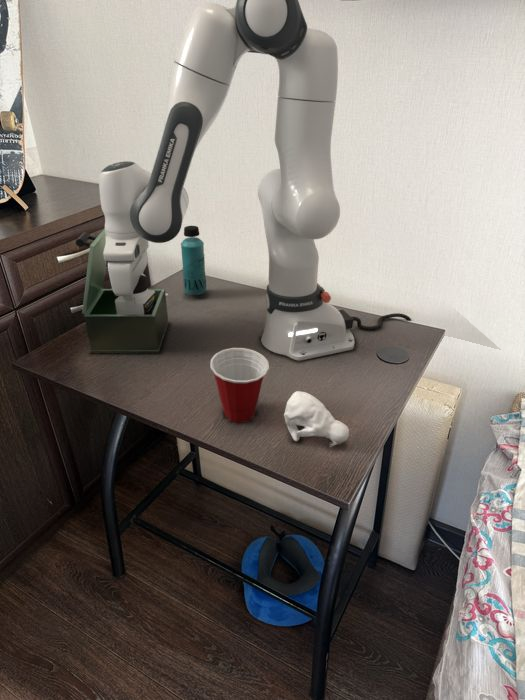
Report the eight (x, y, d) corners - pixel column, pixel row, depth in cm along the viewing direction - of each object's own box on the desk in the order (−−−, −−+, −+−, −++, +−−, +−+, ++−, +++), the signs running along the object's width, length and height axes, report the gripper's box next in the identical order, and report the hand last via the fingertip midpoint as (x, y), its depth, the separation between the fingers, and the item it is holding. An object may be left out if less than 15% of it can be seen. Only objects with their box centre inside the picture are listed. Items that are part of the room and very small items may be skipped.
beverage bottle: (181, 299, 141) (175, 230, 131) (188, 289, 147) (182, 222, 137) (203, 301, 140) (199, 231, 130) (209, 291, 146) (206, 224, 136)
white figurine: (296, 381, 92) (359, 403, 88) (290, 416, 96) (350, 438, 93) (282, 399, 87) (348, 424, 83) (277, 435, 91) (339, 460, 88)
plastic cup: (250, 439, 91) (250, 385, 85) (201, 420, 96) (198, 368, 89) (278, 407, 99) (279, 356, 93) (232, 391, 104) (230, 341, 97)
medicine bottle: (147, 330, 117) (140, 283, 110) (118, 327, 118) (110, 280, 112) (158, 316, 123) (153, 270, 116) (131, 313, 124) (124, 268, 118)
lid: (111, 224, 115) (89, 218, 115) (93, 246, 103) (69, 239, 102) (103, 287, 123) (82, 282, 123) (85, 314, 111) (62, 309, 110)
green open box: (168, 323, 129) (164, 288, 124) (158, 353, 116) (154, 316, 111) (108, 323, 129) (101, 288, 124) (91, 353, 116) (84, 315, 111)
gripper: (124, 225, 119) (131, 279, 126) (100, 256, 101) (110, 317, 108) (150, 225, 119) (156, 279, 126) (131, 256, 101) (139, 317, 108)
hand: (135, 297), depth 117 cm, fingers closed on medicine bottle, 7 cm apart
